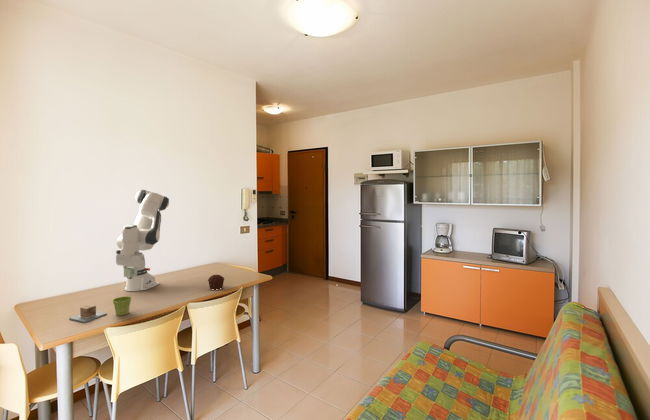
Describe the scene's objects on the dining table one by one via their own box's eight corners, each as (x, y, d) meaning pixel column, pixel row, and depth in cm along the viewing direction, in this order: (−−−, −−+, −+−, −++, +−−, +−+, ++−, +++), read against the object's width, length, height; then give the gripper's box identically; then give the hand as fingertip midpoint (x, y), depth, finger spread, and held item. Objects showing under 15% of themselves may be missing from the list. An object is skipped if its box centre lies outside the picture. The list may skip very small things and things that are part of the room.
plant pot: (118, 310, 183) (118, 296, 182) (135, 310, 183) (135, 296, 183) (108, 317, 173) (108, 301, 173) (126, 316, 174) (126, 301, 174)
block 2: (131, 274, 195) (131, 266, 195) (137, 275, 193) (137, 267, 193) (123, 276, 190) (123, 268, 190) (129, 277, 188) (129, 269, 188)
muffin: (227, 287, 229) (227, 274, 228) (216, 292, 219) (216, 278, 218) (215, 285, 234) (215, 272, 233) (204, 289, 224) (204, 275, 223)
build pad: (92, 311, 180) (92, 309, 180) (106, 314, 176) (106, 312, 176) (69, 319, 169) (69, 317, 169) (84, 323, 165) (84, 321, 165)
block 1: (89, 312, 176) (89, 304, 175) (96, 314, 174) (95, 305, 174) (80, 316, 171) (80, 307, 171) (86, 317, 169) (86, 308, 169)
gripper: (147, 251, 191) (148, 273, 191) (123, 249, 197) (123, 270, 198) (138, 253, 185) (139, 276, 185) (113, 250, 191) (114, 272, 192)
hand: (130, 273), depth 192 cm, fingers closed on block 2, 5 cm apart
